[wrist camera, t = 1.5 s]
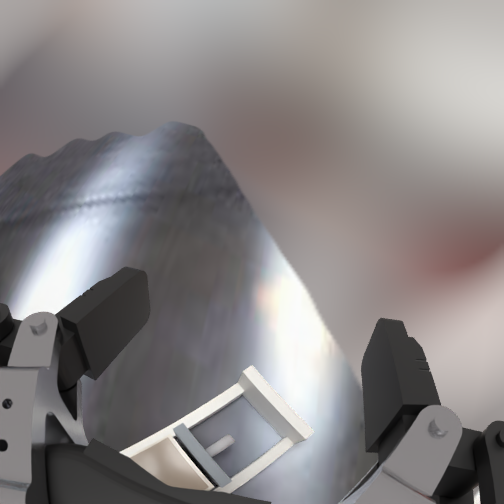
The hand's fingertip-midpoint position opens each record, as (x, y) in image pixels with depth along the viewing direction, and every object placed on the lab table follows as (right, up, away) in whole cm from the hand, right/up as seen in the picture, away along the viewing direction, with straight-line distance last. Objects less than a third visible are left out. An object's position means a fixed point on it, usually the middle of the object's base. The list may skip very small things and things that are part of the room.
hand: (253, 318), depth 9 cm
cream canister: (-8, -20, +11) cm, 24 cm away
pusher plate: (-4, -18, +14) cm, 23 cm away
